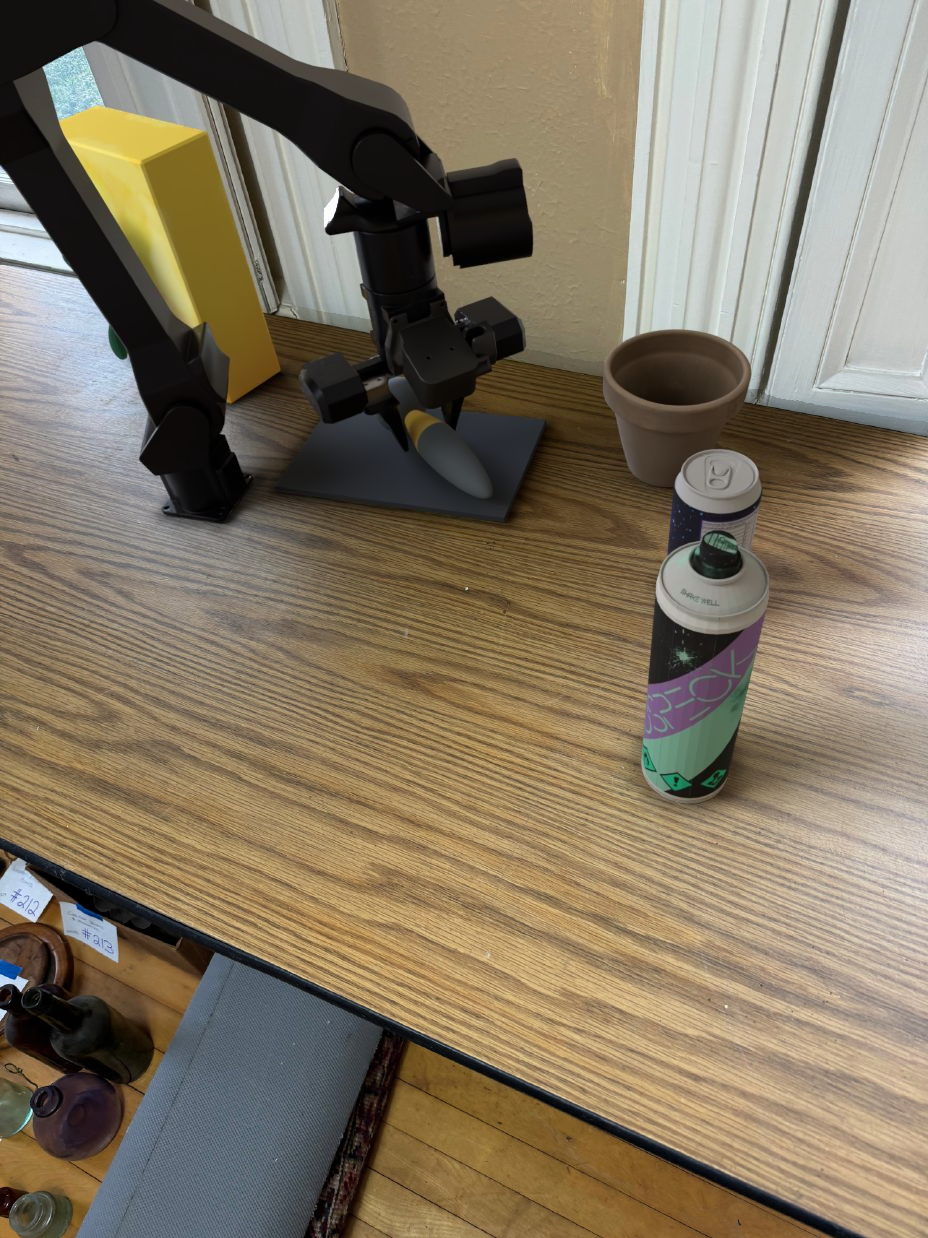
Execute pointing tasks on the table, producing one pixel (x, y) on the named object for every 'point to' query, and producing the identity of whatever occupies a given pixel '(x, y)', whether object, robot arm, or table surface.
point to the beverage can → (715, 498)
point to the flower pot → (672, 397)
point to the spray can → (701, 664)
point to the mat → (413, 465)
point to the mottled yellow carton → (178, 230)
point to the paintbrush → (439, 443)
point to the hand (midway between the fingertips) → (427, 440)
